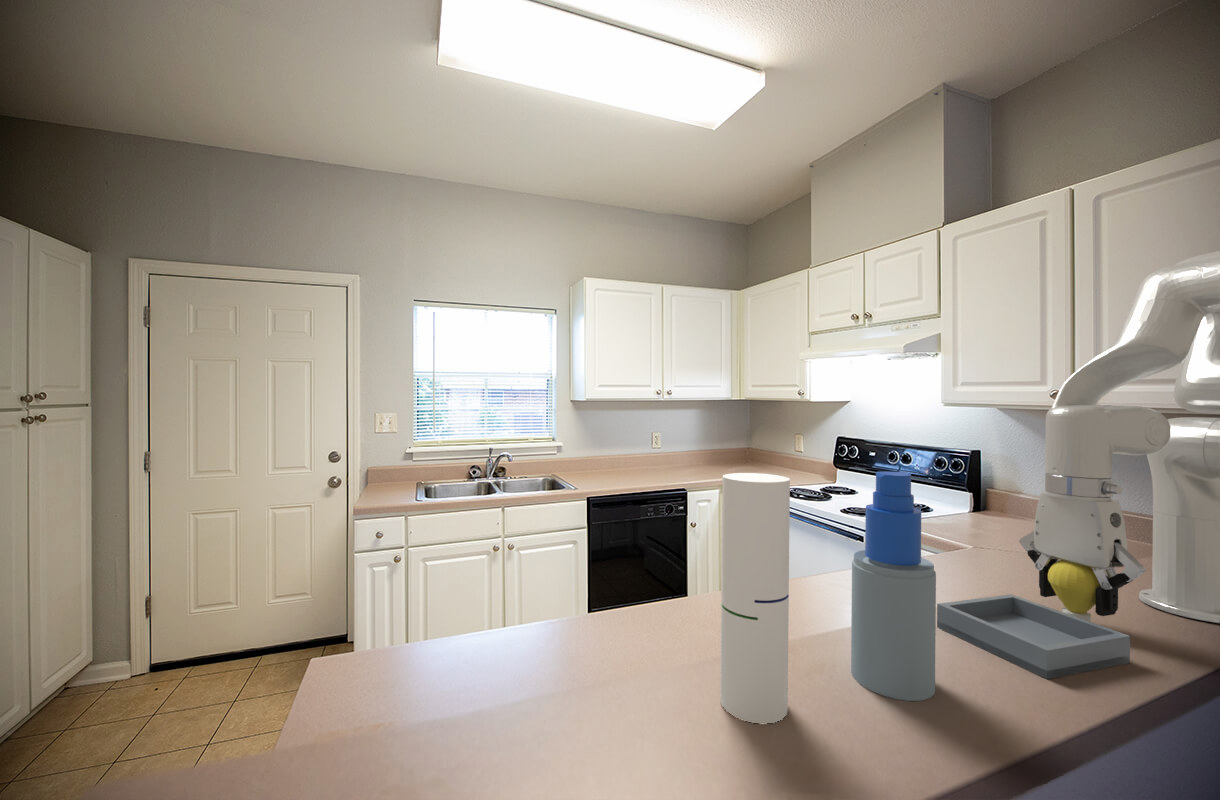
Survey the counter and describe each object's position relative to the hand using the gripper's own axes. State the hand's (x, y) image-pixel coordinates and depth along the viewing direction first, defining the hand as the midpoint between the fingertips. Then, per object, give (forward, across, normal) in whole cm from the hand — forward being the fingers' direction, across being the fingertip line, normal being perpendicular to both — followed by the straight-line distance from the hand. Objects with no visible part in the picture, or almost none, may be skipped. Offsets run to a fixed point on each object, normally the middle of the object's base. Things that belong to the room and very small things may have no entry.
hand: (1076, 603), depth 78 cm
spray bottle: (+4, -5, +40) cm, 40 cm away
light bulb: (+3, 0, 0) cm, 3 cm away
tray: (+3, -2, +14) cm, 15 cm away
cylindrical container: (+4, -5, +59) cm, 59 cm away
